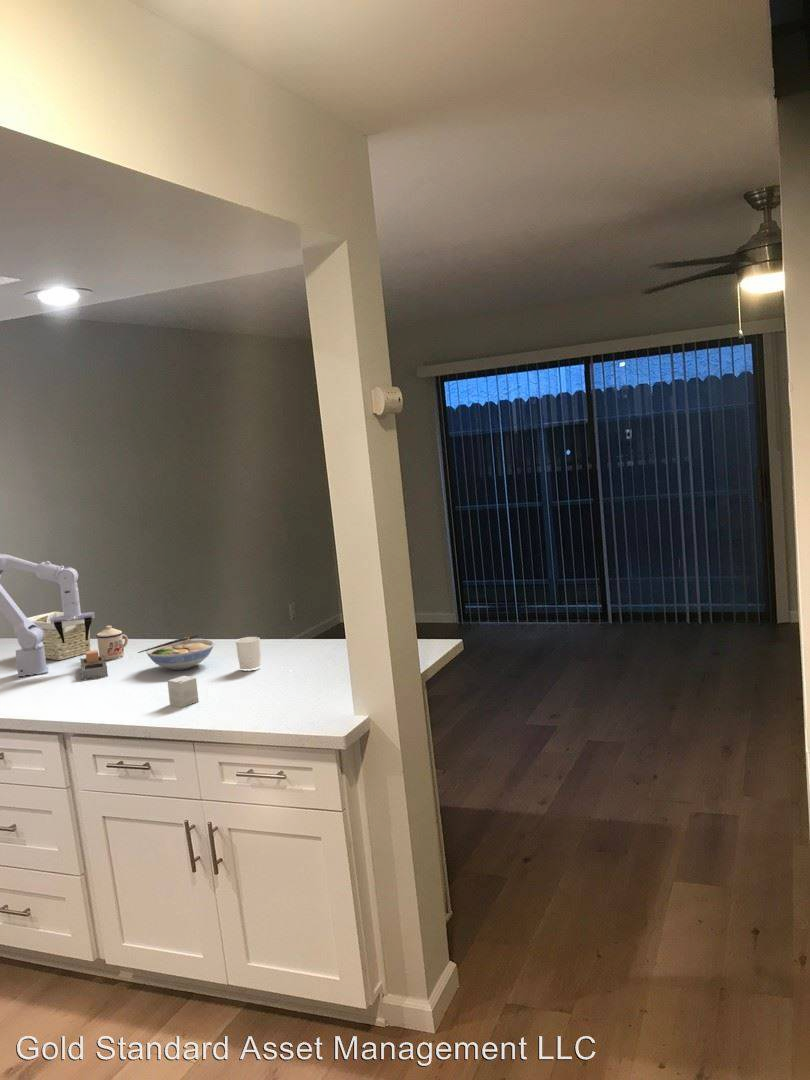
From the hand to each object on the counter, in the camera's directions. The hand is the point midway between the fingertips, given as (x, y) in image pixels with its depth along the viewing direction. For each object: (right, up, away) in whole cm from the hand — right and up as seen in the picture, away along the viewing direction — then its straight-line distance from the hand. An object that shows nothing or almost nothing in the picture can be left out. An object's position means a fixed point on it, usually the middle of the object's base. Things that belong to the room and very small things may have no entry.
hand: (75, 641), depth 316 cm
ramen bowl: (+39, -8, -8) cm, 41 cm away
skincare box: (+51, -13, -52) cm, 73 cm away
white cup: (+64, -8, -17) cm, 67 cm away
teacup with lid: (+9, -8, +17) cm, 20 cm away
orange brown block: (+6, -10, 0) cm, 12 cm away
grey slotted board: (+8, -10, -5) cm, 14 cm away
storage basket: (-16, -8, +27) cm, 33 cm away
